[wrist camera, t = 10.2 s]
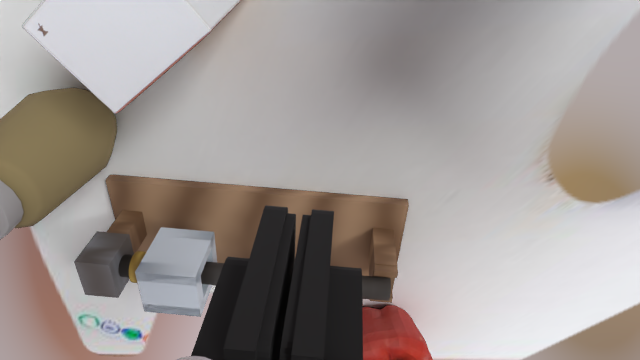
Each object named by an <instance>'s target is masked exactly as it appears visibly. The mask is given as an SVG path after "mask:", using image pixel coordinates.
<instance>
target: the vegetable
mask: <svg viewBox="0 0 640 360" xmlns="http://www.w3.org/2000/svg"><path fill="white" fill-rule="evenodd" d="M362 311H363V360H433V359H432V357H431V354H430V352H429V350H428V348H427V344H426V341H425V340H424V338H423V336H422V335H421V333H420V332H419V330H418V329H417V327H416V325H415V324H414V322H413V320H412V318H411V317H410V316H409V315H408V313H407V312H406V311H405V310H403V309H401V308H399V307H397V306H392V305H387V306H385V307H384V308H382V309H374V308H371V307H363V308H362Z"/></svg>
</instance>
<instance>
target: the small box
mask: <svg viewBox="0 0 640 360" xmlns="http://www.w3.org/2000/svg"><path fill="white" fill-rule="evenodd" d="M240 1H241V0H43V1H42V2H41V3H40V5H39V6H38V7H37V8H36V9H35V10H34V12H33V13H32V14H31V15H30V16H29V17H28V19H27V20H26V21H25V22H24V23H23V25H22V28H23V29H25V30H26V31H27V32H28V33H29V34H30V35H31V36H32V37H33V38H34V39H35V40H36V41H37V42H39V43H40V44H41V45H42V46H43V47H44V48H45V49H46V50H47V51H48V52H49V53H50V54H51V55H52V56H53V57H54V58H55V59H56V60H58V61H59V62H60V63H61V64H62V65H63V66H64V67H65V68H66V69H67V70H68V71H69V72H70V73H71V74H73V75H74V76H75V77H76V78H77V79H78V80H79V81H80V82H81V83H82V84H83V85H85V86H86V87H87V88H88V89H89V90H90V91H91V92H92V93H93V94H94V95H95V96H96V97H97V98H98V99H100V100H101V101H102V102H103V103H104V104H105V105H106V106H107V107H108V108H109V109H110V110H112V111H113V112H114V113H118V112H120V111H121V110H122V109H123V108H125V107H126V106H127V105H128V104H129V103H131V102H132V101H133V100H134V99H135V98H136V97H138V96H139V95H140V94H141V93H142V92H144V91H145V90H146V89H147V88H148V87H149V86H151V85H152V84H153V83H154V82H155V81H156V80H157V79H159V78H160V77H161V76H162V75H163V74H164V73H165V72H167V71H168V70H169V69H170V68H171V67H172V66H173V65H174V64H176V63H177V62H178V61H179V60H180V59H181V58H182V57H183V56H184V55H186V54H187V53H188V52H189V51H190V50H191V49H192V48H194V47H195V46H196V45H197V44H198V43H199V42H200V41H201V40H202V39H204V38H205V37H206V36H207V35H208V34H209V33H210V32H211V31H212V29H213V28H214V27H215V26H216V25H217V24H218V23H219V22H220V21H221V20H222V19H223V18H224V17H225V16H226V15H227V14H228V13H229V12H230V11H231V10H232V9H233V8H234V7H235V6H236V5H237V4H238V3H239V2H240Z"/></svg>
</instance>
